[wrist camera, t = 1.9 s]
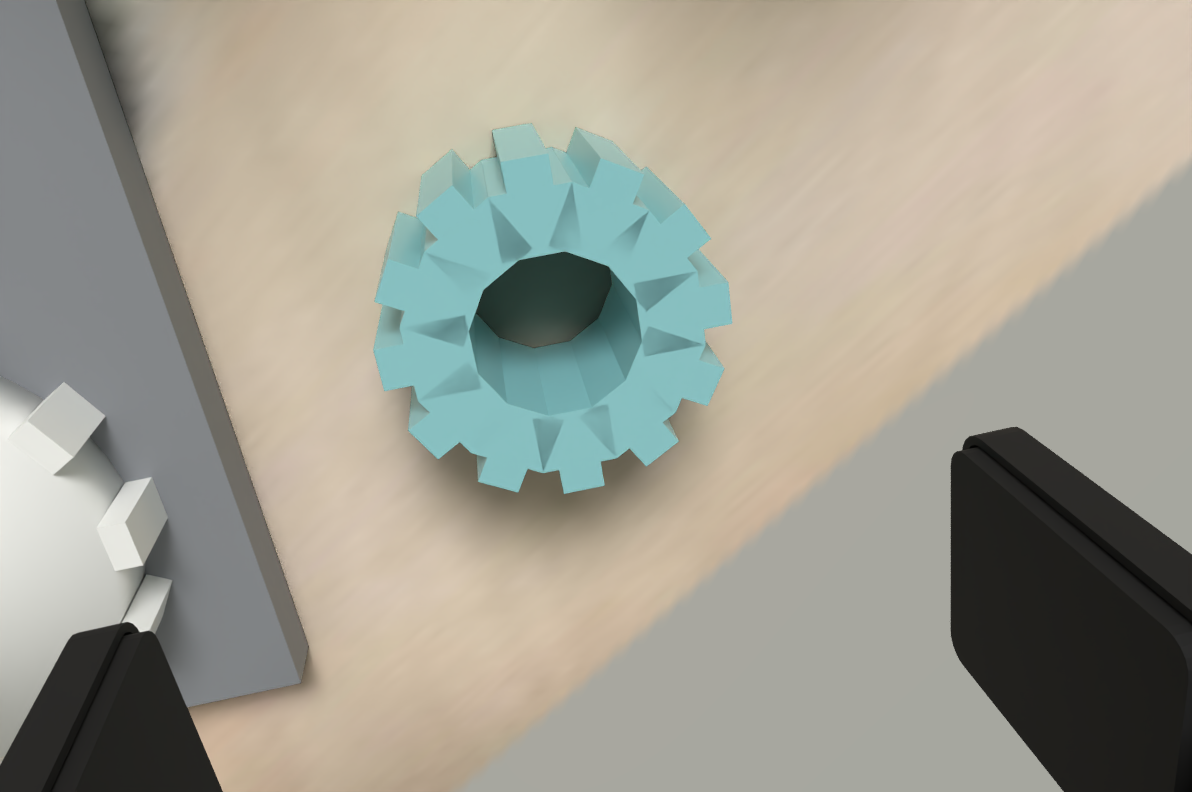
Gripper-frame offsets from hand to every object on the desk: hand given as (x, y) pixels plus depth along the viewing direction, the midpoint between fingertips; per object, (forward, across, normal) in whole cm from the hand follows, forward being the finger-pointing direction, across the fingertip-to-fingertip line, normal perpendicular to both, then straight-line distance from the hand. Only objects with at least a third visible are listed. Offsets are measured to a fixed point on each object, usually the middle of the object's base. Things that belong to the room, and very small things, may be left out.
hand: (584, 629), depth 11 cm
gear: (+13, -1, 0) cm, 13 cm away
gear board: (+13, +14, -2) cm, 20 cm away
